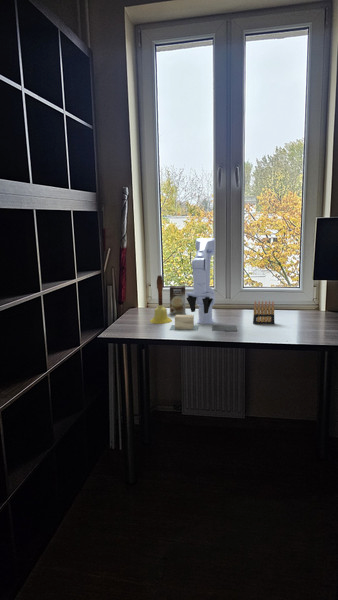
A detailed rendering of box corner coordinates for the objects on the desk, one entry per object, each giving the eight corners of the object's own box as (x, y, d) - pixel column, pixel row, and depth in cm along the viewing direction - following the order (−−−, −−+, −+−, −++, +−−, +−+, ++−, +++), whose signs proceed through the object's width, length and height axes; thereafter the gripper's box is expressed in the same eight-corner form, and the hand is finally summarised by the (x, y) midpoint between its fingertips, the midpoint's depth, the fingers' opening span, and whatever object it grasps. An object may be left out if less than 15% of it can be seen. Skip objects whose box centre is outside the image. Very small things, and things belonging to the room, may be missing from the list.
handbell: (164, 325, 214) (162, 277, 210) (145, 322, 221) (143, 276, 216) (176, 320, 225) (175, 274, 220) (158, 317, 231) (156, 273, 227)
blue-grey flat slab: (171, 325, 214) (171, 325, 214) (198, 325, 212) (198, 325, 212) (169, 330, 204) (169, 330, 204) (197, 330, 202) (197, 330, 202)
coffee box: (169, 315, 237) (169, 287, 234) (169, 312, 244) (169, 285, 241) (185, 314, 237) (185, 287, 234) (185, 312, 243) (185, 285, 240)
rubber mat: (212, 325, 211) (212, 325, 211) (236, 326, 209) (236, 325, 209) (212, 331, 201) (212, 330, 201) (237, 331, 200) (237, 330, 199)
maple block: (176, 326, 211) (175, 314, 210) (193, 326, 210) (193, 314, 209) (174, 328, 206) (174, 317, 205) (193, 329, 205) (192, 317, 204)
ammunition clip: (273, 323, 213) (274, 300, 211) (274, 324, 211) (275, 301, 209) (252, 323, 214) (253, 300, 212) (253, 324, 212) (253, 301, 210)
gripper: (182, 283, 195) (182, 312, 197) (206, 285, 186) (206, 315, 187) (191, 282, 200) (191, 310, 202) (216, 284, 191) (215, 313, 192)
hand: (199, 312), depth 195 cm, fingers open, 7 cm apart
